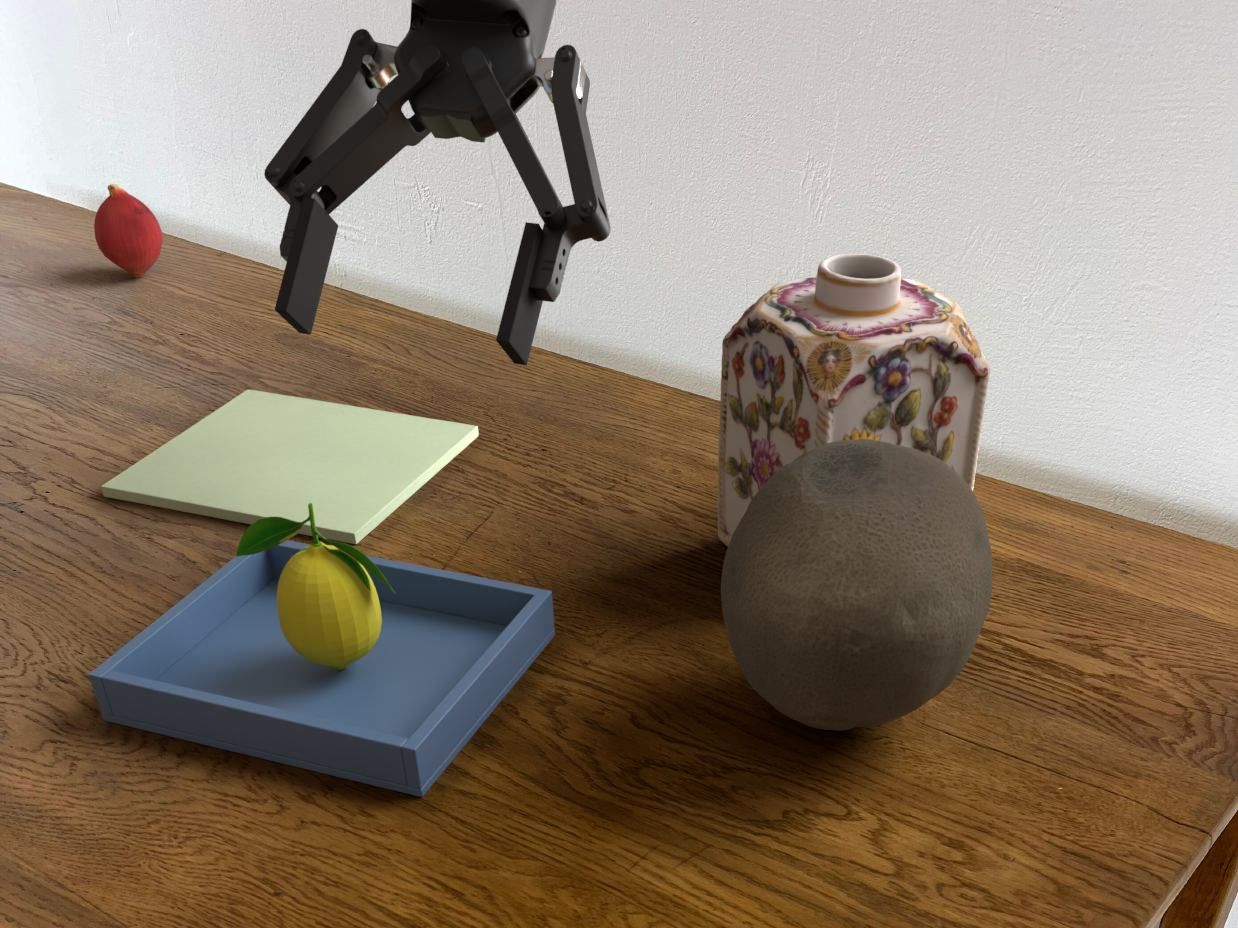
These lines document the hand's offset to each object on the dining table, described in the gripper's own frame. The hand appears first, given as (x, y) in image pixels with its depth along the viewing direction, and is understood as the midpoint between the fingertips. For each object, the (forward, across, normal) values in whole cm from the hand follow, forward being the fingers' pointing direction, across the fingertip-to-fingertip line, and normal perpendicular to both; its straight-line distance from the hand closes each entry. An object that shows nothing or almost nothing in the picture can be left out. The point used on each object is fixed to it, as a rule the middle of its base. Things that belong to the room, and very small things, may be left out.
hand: (399, 338), depth 75 cm
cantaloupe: (+15, -28, -7) cm, 32 cm away
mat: (+2, +17, -19) cm, 26 cm away
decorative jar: (+3, -23, -19) cm, 30 cm away
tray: (+19, 0, -3) cm, 19 cm away
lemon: (+18, 0, -3) cm, 19 cm away
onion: (-19, +53, -40) cm, 69 cm away
